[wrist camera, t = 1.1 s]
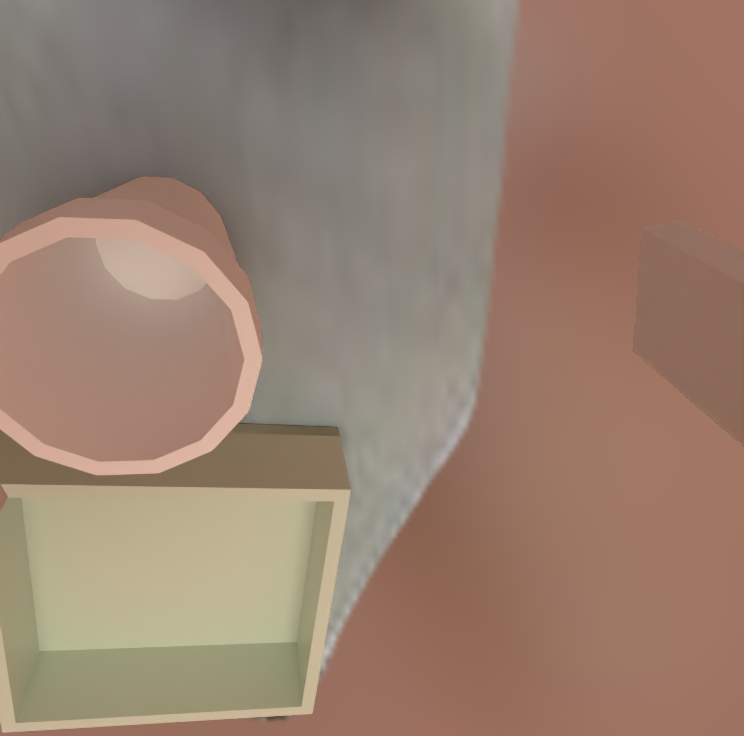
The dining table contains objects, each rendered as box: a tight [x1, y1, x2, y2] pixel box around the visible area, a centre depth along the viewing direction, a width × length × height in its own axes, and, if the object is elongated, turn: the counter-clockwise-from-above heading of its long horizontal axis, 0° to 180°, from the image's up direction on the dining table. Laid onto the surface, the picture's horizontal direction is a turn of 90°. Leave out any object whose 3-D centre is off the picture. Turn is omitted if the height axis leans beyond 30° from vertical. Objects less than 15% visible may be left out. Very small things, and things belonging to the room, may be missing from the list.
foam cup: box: [0, 176, 263, 475], centre depth 26 cm, size 10×9×13 cm
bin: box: [0, 423, 351, 732], centre depth 39 cm, size 19×19×6 cm
